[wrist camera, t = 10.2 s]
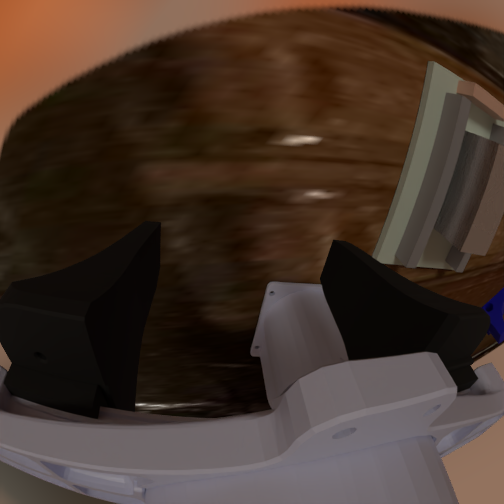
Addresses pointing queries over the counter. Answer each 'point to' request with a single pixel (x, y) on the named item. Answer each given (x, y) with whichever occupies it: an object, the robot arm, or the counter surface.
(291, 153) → the counter surface
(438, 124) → the drive tray
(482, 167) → the block
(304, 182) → the counter surface
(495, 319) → the cable clip
